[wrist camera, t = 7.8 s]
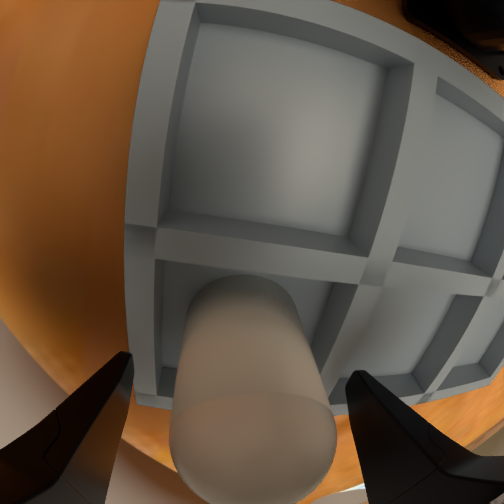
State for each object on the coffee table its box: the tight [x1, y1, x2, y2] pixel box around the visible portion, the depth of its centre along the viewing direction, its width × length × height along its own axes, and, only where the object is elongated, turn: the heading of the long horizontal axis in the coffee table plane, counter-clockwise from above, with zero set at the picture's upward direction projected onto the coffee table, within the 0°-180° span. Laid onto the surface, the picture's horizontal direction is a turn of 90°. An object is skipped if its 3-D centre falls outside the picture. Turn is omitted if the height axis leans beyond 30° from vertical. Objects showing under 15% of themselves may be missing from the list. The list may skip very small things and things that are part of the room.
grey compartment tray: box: [124, 0, 504, 416], centre depth 11 cm, size 24×16×2 cm
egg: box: [169, 274, 337, 504], centre depth 8 cm, size 5×5×8 cm
